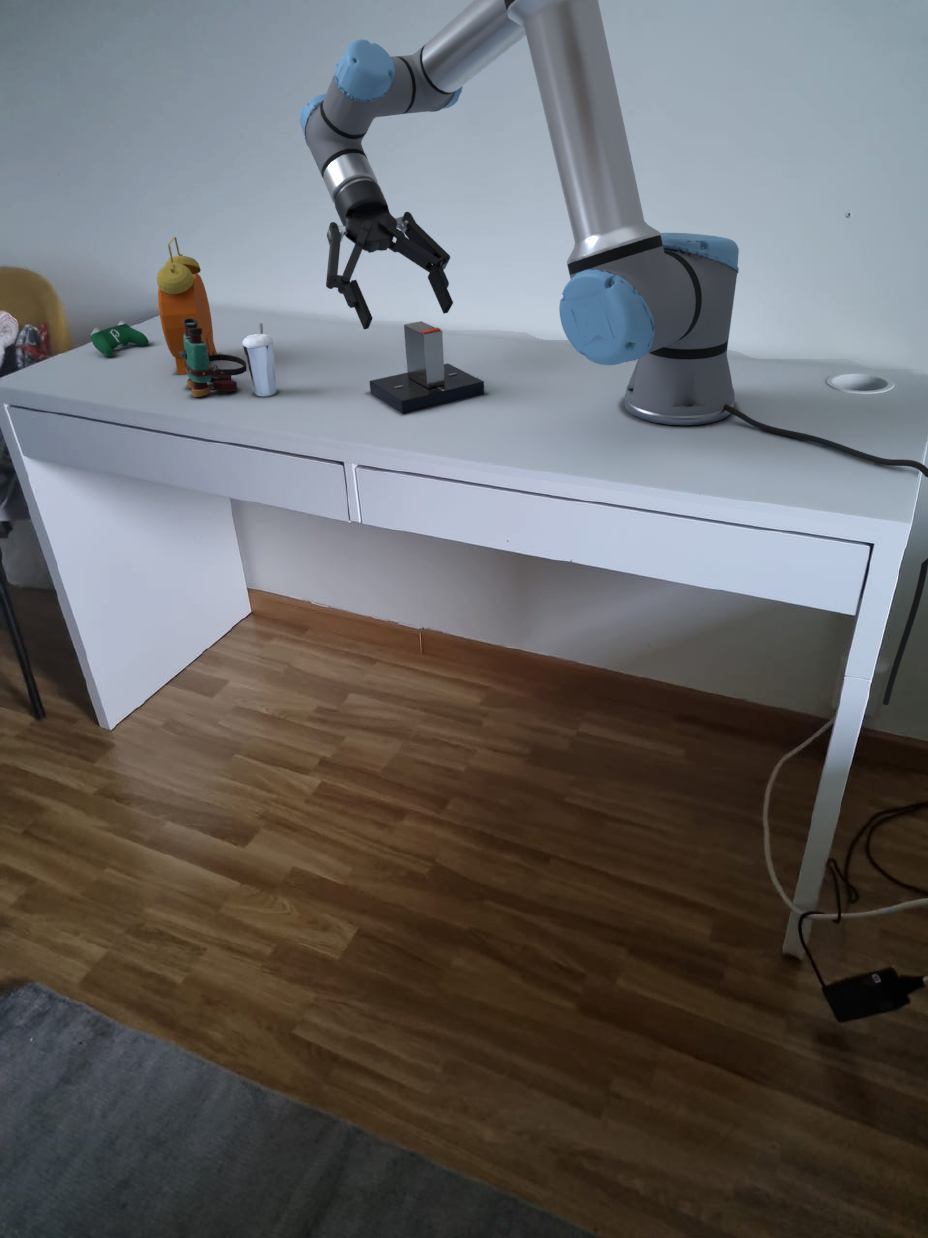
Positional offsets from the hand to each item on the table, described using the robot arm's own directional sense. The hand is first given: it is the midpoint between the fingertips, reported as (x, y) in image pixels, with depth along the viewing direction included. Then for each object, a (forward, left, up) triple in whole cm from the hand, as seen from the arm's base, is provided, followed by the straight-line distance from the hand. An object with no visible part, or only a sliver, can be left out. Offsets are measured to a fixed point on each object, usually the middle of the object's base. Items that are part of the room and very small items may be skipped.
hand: (409, 316), depth 134 cm
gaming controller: (+57, +22, -11) cm, 62 cm away
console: (-4, +1, -11) cm, 12 cm away
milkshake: (+16, +17, -11) cm, 26 cm away
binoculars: (+24, +21, -11) cm, 34 cm away
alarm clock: (+38, +17, -11) cm, 43 cm away
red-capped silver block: (-4, +1, -9) cm, 10 cm away
